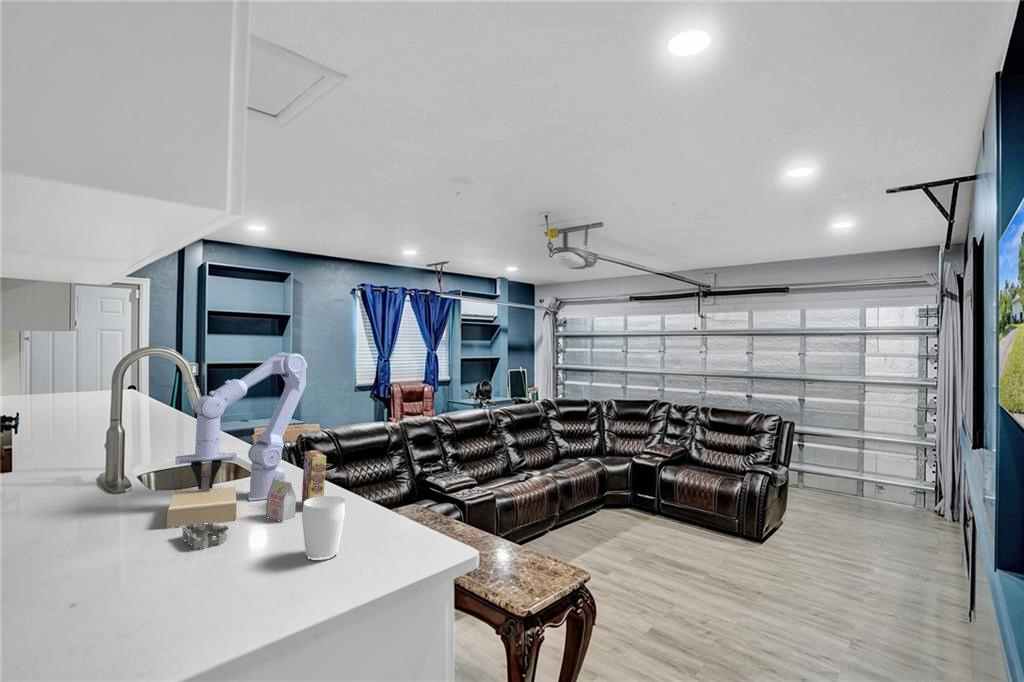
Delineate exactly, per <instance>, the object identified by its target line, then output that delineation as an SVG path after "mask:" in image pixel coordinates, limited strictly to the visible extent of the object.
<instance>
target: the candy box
mask: <svg viewBox="0 0 1024 682" xmlns="http://www.w3.org/2000/svg"><path fill="white" fill-rule="evenodd" d="M303 458H304V459H303V470H302V471H303V473H302V489H301V490H302V491H301V504H302V503H303V504H304V501H305V500H307V499H310V498H313V497H319V496H325V481H326V469H327V468H326V467H327V455H325V454H324V453H322V452H321V451H319V450H308V451H307V450H306V451H304V457H303ZM303 504H302V505H303Z"/></svg>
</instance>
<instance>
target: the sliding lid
mask: <svg viewBox="0 0 1024 682" xmlns="http://www.w3.org/2000/svg"><path fill="white" fill-rule="evenodd" d="M210 478H211V475H201V489H200V490H197V489H196V490H187V491H186V490H185V491H174V492H173V494H172V497H171V500H170V504H169V507H168V509H167V512H171V511H181V510H191V509H201V508H211V507H221V506H231V505H236V503H237V491H236V486H231V487H220V488H211V489H209V486H210Z"/></svg>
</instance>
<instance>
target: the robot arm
mask: <svg viewBox="0 0 1024 682" xmlns="http://www.w3.org/2000/svg"><path fill="white" fill-rule="evenodd" d="M307 368H308V363H307V361H306V360H305V357H304V356H303V355H302V354H300V353H287V352H282V351H281V352H279V353H276V354H275V356H271V357H270V358H268V359H267V360H266V361H264V362H263V363H262V364H260V365H259V366H258V367H256V368H254V369H253V370H252V371H250V372H249V373H247V374H246V375H245V376H243V377H242V378H241V379H235V378H233V379H231V380H230V379H227V380H226V381H224V384H223V385H222V386H220V387H219V388H217V389H215V390H211V391H209V395H203V396H200V397H199V398H198V399H197V400H196V402H195V405H193V410H194V412H195V414H197V415H196V428H195V429H196V431H195V447H194V448H195V450H194V454H186V455H176V456H175V464H174V465H181V464H183V465H184V464H190V468H191V470H192V472H193V475H194V477H195V479H196V483H197V489H198V490H201V480H202V468H203V463H210V464H211V466H210V486H209V489H213V487H214V486H213V485H214V482H215V479H216V476H217V474H218V472H219V471H220V469H221V467H222V464H223V463H222V462H228V461H232V462H236V461H237V452H220V435H221V434H220V433H221V416H222V415H223V414H224V412H225V409H227V408H228V407H230V406H232V405H233V404H234V403H237V401H239V400H241V399H242V398H243V397H245V396H246V395H247V393H248V389H249V388H251V387H252V386H254V385H256V384H258V383H259V382H261V381H263V380H264V379H267V378H268V377H270V376H271V375H278V374H279V376H281V377H282V379H283V381H284V383H285V387H284V389H283V392H282V394H281V396H280V398H279V400H278V402H277V404H276V407H275V409H274V412H273V413H272V416H271V417H270V420H269V422H268V423H267V426H266V429H265V431H264V432H263V433H262V434H261V435H260V436H259V437H257V440H256V441H255V442H254V444H252V446H250V447H249V450H248V452H247V454H248V456H247V457H248V459H249V461H250V462H251V465H250V483H249V492H247V498H248V501H250V502H251V501H261V500H267V495H268V493H269V490H270V488H271V485H272V482H273V479H278V480H282V481H286V479H285V477H286V474H285V473H286V470H285V469H286V468H285V465H279V464H280V462H281V461H282V457H283V449H284V446H285V444H284V440H283V437H284V435H285V433H286V431H287V428H288V426H289V424H290V422H291V420H292V418H293V415H294V412H295V410H296V409H297V406H298V404H299V402H300V400H301V397H302V395H303V393H304V391H305V388H306V386H307ZM199 407H200V408H199Z"/></svg>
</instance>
